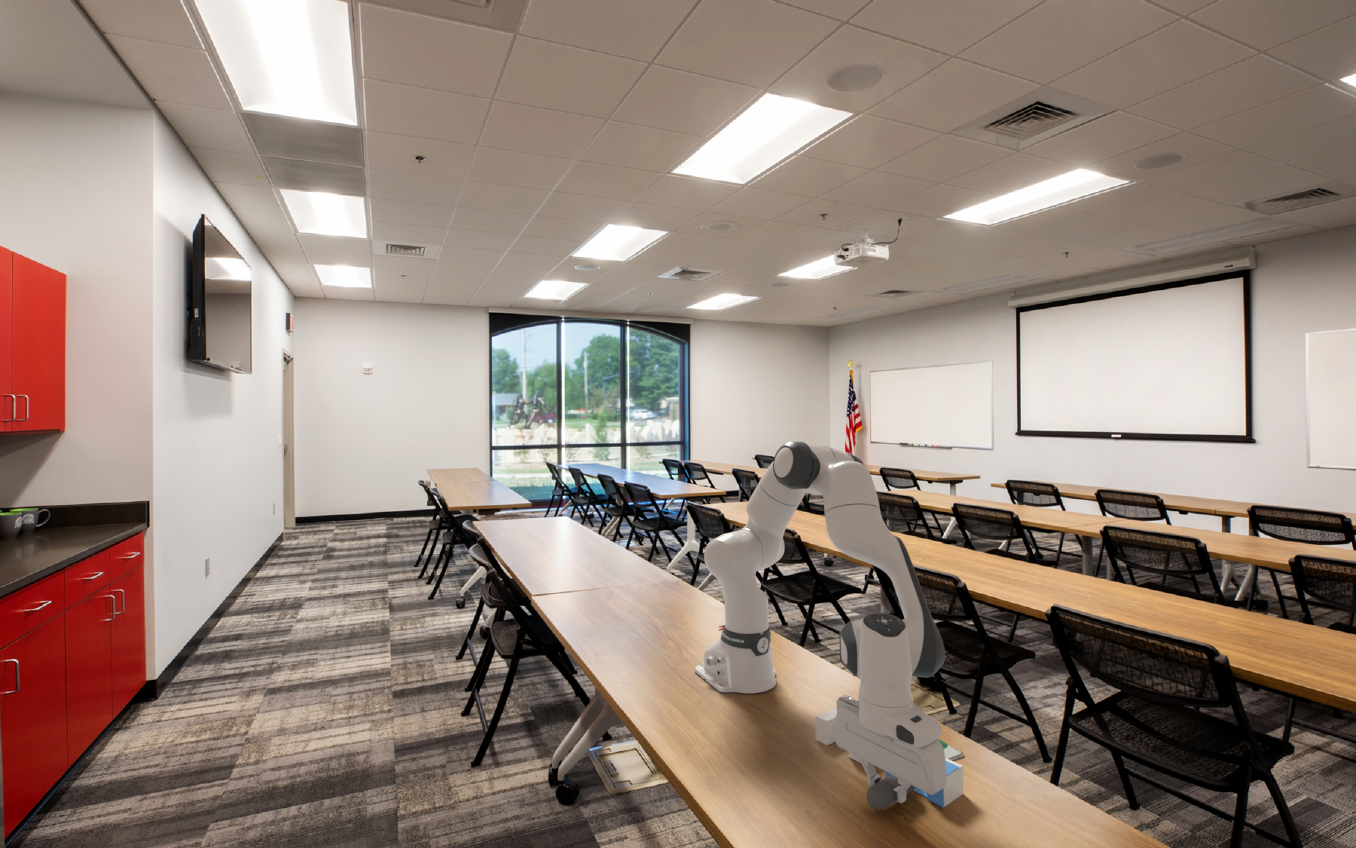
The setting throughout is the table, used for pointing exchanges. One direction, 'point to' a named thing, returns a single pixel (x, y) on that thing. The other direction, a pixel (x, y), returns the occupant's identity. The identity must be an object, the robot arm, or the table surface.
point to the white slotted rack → (941, 798)
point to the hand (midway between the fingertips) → (886, 793)
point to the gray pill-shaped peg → (884, 792)
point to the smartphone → (951, 751)
